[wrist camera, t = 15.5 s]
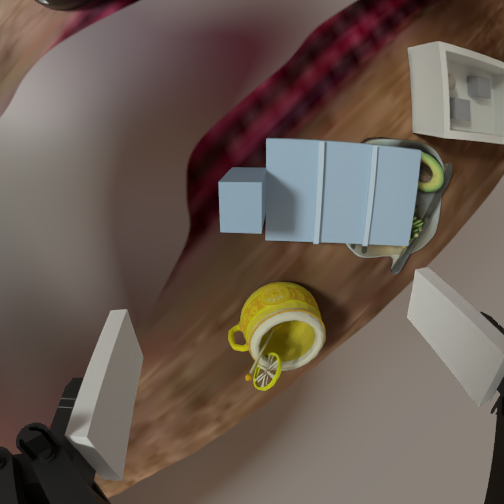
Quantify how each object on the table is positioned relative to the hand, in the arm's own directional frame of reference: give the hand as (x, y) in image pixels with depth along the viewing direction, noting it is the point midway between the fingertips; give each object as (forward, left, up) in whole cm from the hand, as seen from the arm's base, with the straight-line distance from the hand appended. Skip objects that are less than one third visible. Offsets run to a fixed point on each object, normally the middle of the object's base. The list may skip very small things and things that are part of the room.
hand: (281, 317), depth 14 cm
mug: (+18, +3, -27) cm, 32 cm away
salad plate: (+3, +21, -27) cm, 35 cm away
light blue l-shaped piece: (+1, +10, -25) cm, 27 cm away
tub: (-12, +33, -27) cm, 44 cm away
